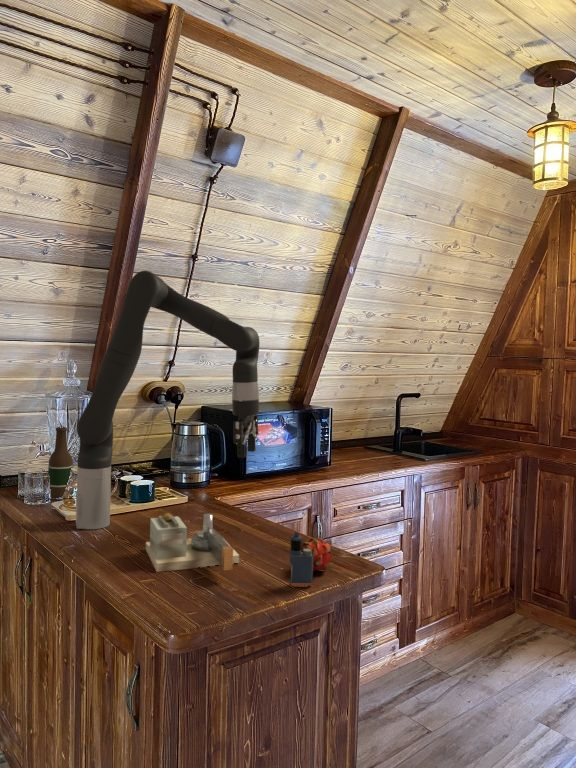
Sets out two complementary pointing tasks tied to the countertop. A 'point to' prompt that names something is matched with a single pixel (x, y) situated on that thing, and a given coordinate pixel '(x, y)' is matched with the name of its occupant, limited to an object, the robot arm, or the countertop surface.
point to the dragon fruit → (318, 552)
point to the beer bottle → (59, 464)
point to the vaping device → (300, 561)
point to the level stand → (176, 546)
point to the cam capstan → (213, 543)
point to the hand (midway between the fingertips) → (246, 454)
